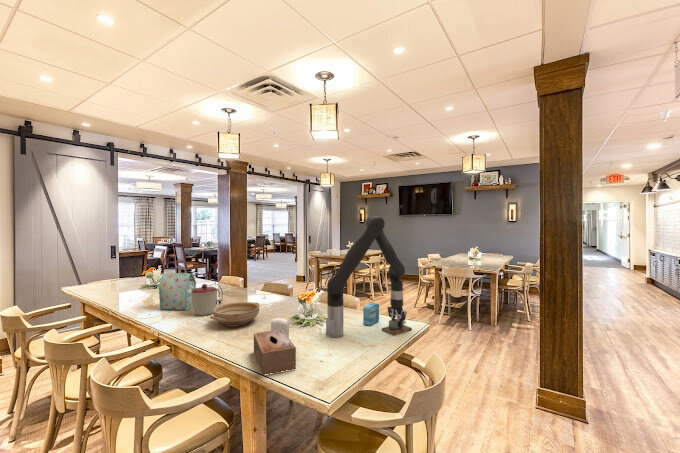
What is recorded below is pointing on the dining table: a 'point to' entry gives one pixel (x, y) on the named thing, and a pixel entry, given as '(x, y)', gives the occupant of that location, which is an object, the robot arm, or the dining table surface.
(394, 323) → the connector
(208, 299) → the canister
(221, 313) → the ceramic bowl
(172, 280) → the lunch bag
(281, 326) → the photo printer
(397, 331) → the walnut board
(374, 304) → the data package
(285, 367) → the tissue box cover
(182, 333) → the dining table surface
